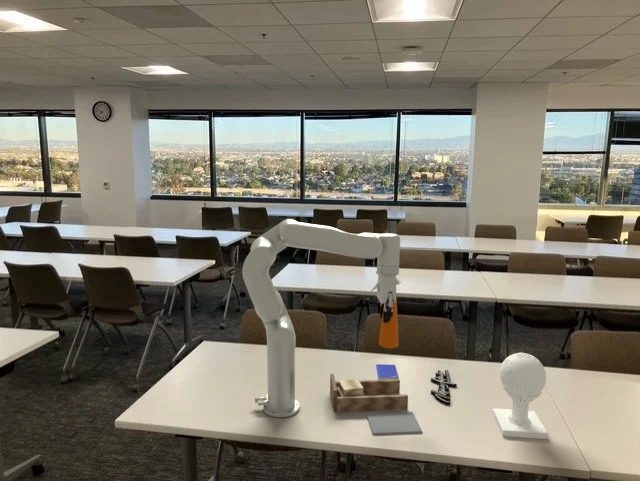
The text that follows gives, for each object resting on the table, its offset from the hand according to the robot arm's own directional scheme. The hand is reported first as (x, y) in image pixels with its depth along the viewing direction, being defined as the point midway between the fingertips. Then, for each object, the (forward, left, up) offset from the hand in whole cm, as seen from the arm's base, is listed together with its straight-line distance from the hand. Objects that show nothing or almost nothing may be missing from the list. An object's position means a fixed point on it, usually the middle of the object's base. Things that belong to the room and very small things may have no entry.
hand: (385, 319), depth 166 cm
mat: (0, -15, -31) cm, 34 cm away
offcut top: (-12, 0, -26) cm, 29 cm away
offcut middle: (-12, 0, -29) cm, 31 cm away
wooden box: (-6, 0, -31) cm, 31 cm away
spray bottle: (0, 0, -9) cm, 9 cm away
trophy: (+41, -19, -31) cm, 55 cm away
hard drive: (+6, +23, -32) cm, 39 cm away
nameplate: (+25, +9, -32) cm, 41 cm away
